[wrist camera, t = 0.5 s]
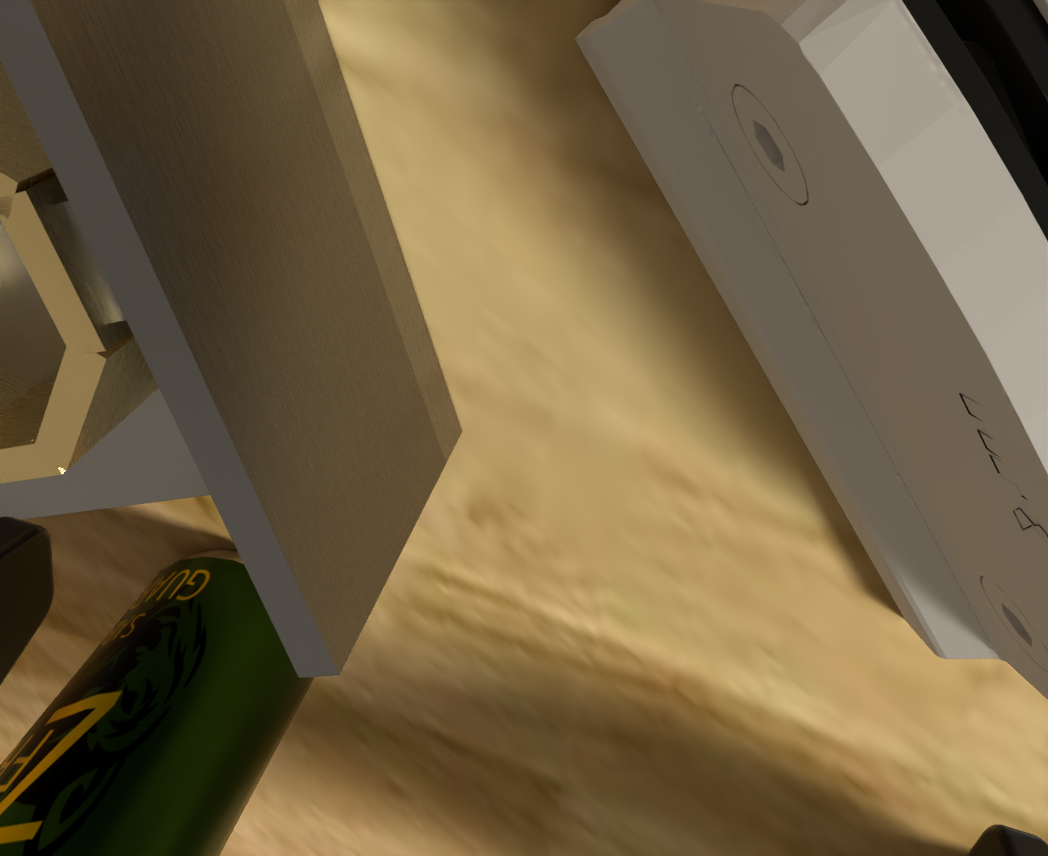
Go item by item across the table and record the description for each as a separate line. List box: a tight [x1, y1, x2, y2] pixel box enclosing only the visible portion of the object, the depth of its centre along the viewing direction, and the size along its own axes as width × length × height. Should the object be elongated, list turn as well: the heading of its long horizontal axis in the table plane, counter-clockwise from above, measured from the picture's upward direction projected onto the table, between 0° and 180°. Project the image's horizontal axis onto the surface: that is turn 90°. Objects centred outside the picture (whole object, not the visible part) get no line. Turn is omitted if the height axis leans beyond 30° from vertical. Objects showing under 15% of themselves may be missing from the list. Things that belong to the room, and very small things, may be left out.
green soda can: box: [0, 549, 314, 856], centre depth 24 cm, size 5×5×12 cm
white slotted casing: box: [574, 0, 1048, 699], centre depth 17 cm, size 17×5×10 cm, turn 33°
